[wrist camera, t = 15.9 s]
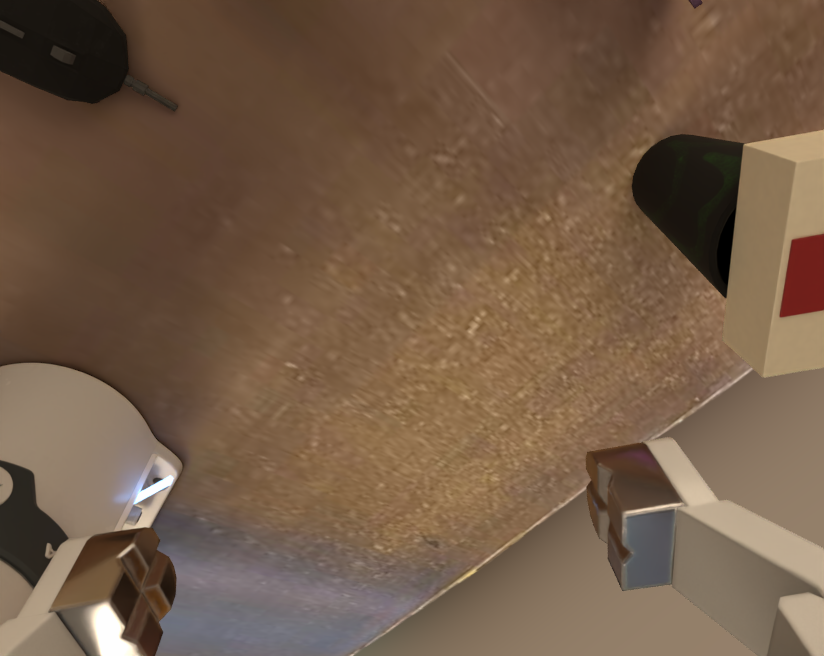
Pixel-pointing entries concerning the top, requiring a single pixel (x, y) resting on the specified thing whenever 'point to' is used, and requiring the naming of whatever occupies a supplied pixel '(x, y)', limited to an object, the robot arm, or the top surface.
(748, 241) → the packet
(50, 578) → the robot arm
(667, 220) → the cup
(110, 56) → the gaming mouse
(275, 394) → the top surface
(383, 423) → the top surface
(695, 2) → the purple toy figure frame
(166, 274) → the top surface
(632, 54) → the top surface
